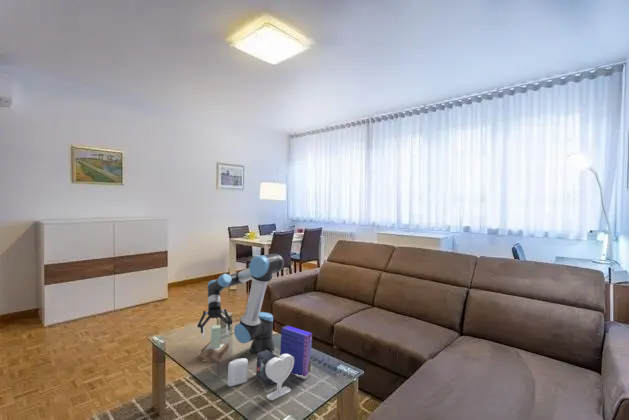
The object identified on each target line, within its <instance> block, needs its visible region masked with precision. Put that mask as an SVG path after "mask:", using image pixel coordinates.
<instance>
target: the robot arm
mask: <svg viewBox="0 0 629 420" xmlns="http://www.w3.org/2000/svg"><path fill="white" fill-rule="evenodd" d="M248 266H249V267H248V268H246V269H244V270H241V271H239V272H236V273H232V274H228V273H223V274H221V275H220V276H219V277H218V278H217V279H212V280H209V281H208V282H207V303H208V309H207V311H206V310H203V312H202V315H201V317H200V319H199V322H197V328H200V334H202V340H205V326H206V324H207V323H208V322H209V321H210V320H211V319H218V318H219V319H220V320H221V321H222V322H224V323H225V329H226V330H225V333H226V337H229V331H230V330H231V327H230V326H231V325H233V320H232V318H231V317H230V315H229V313H228V312H227V309H226V308H224V309H222V308H221V307H222V306H221V292H222V291H223V290H224V289H225V288H226V289H227V288H231V287H234V286H238V285H242V284H244V283H246V282H248V281H250V280H252V283H251V287H250V290H249V295H248V299H247V302H246V307H245V310H244V311H245V312H244V314H243V315H242V316H241V317H240V321H239V323H237V324H236V325H235V326H234V327H233V333H234V336H235V338H236V339H235V340H237V341H238V342H240V344H247V343H249V342H251V341H252V342H251V345H250V350H249V351H250V352H251V353H252V354H253V355H256V356H257V353H260V352H263V351H265V350H268V351H269V352H272V351H273V350H274V351H275V343H274V339H273V332H274V331H273V329H274V328H273V327H274V316H273V314H272V313H270V312H264V311H261V309H262V305H263V302H264V299H265V298H264V297H265V294H266V290H267V286H268V283H269V282H270V281H271V280H272V276H273V274H276V273H280V272H281V271H282V270H283V268H284V266H285V260H284V258H283V257H282V256H281V255H280V254H278V253H270V254H269V253H268V254H263V255H261V254H260V255H258V256H255V257H253V258H252V259H251V260H250V263H249V265H248ZM223 314H224V315H223ZM206 315H208V316H207V317H206V319H205V316H206ZM204 319H205V320H204ZM274 351H273V352H274ZM273 352H272V353H273Z"/></svg>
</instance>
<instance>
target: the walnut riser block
mask: <svg viewBox="0 0 629 420" xmlns="http://www.w3.org/2000/svg"><path fill="white" fill-rule="evenodd" d="M229 345H230V343H229V342H220V348H214V349H211V340H209V342H208V343H207V344H205V346H204V347H203V348H201V350H200V361H201V360H205V361H204V362H209V361H211V363H219V364H220V363H222V361H223V360H224V359H225V358H226V357H227V355H228V354H229V349H230V348H229Z"/></svg>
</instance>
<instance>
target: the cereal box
mask: <svg viewBox="0 0 629 420" xmlns="http://www.w3.org/2000/svg"><path fill="white" fill-rule="evenodd" d="M280 331H281V333H280V349H279V351H280V352H279V354H280V355H279V357H280V356H281V355H282V354H289V355H291V356H293V357H294V366H293V369H292V371H291V373H293V374H298V375H303V376H306V375H307V374H308V373H309V372H310V373H311V361H312V343H313V342H312V341H313V333H312V332H310V331H307V330H302V329H301V328H297V327H294V326H291V325H284V326H282V327H281V330H280Z"/></svg>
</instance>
